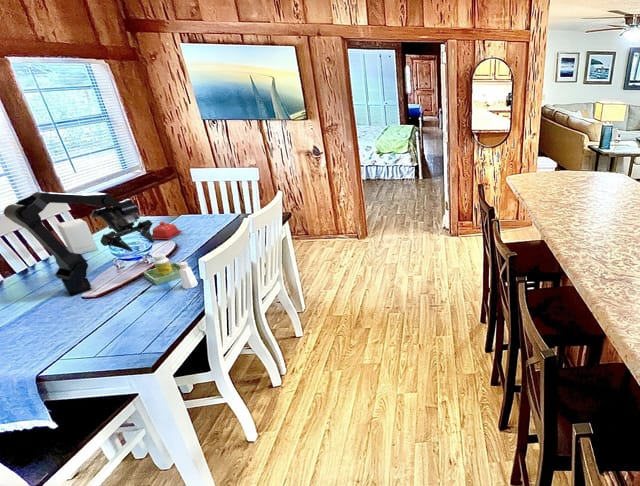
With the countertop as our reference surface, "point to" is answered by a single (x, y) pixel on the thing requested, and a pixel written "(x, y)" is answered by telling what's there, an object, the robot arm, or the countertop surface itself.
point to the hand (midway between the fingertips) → (142, 246)
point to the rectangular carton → (77, 236)
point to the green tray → (157, 280)
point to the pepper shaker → (187, 276)
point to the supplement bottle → (162, 265)
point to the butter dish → (165, 231)
